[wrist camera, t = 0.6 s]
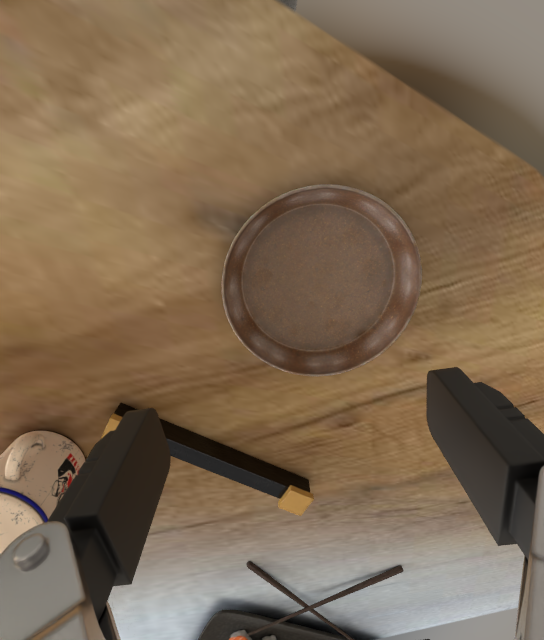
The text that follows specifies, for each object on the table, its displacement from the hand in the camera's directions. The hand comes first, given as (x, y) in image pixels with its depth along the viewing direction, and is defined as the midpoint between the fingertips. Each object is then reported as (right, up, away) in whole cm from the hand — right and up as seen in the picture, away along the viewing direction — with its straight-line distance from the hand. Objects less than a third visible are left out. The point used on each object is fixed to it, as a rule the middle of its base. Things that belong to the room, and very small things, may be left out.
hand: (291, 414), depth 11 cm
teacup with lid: (-26, -12, +32) cm, 43 cm away
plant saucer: (+4, +7, +24) cm, 25 cm away
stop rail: (-7, -12, +32) cm, 35 cm away
